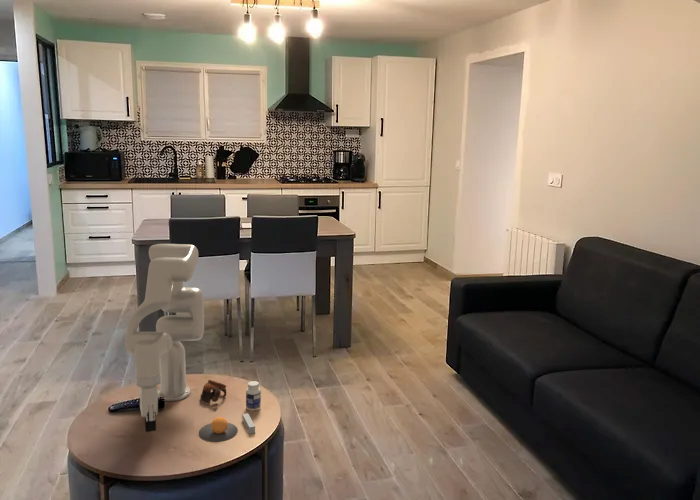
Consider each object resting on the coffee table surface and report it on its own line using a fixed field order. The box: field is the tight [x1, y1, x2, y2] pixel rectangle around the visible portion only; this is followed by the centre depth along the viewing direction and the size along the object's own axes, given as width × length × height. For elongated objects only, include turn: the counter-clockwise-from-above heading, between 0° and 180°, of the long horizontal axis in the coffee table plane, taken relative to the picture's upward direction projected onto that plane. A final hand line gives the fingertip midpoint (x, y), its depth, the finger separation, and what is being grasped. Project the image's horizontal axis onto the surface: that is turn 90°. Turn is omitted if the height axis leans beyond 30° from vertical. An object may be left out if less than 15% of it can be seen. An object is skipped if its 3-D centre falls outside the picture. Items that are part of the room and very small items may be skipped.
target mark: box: [198, 422, 239, 443], centre depth 196 cm, size 13×13×1 cm
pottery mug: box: [199, 379, 227, 405], centre depth 219 cm, size 12×10×8 cm
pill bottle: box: [245, 380, 262, 411], centre depth 213 cm, size 5×5×10 cm
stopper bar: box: [242, 412, 256, 435], centre depth 200 cm, size 10×2×2 cm, turn 24°
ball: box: [211, 416, 229, 434], centre depth 195 cm, size 6×6×6 cm
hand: (150, 430), depth 187 cm, fingers closed
